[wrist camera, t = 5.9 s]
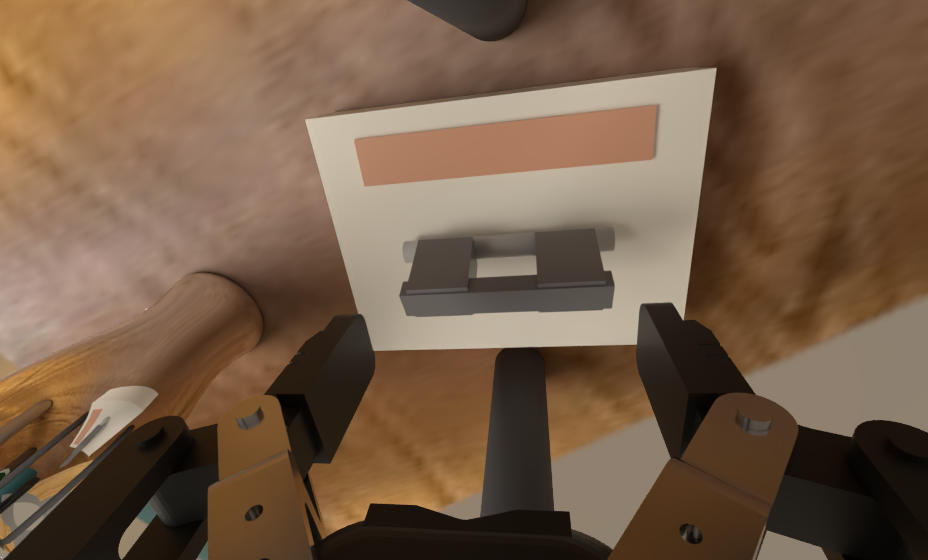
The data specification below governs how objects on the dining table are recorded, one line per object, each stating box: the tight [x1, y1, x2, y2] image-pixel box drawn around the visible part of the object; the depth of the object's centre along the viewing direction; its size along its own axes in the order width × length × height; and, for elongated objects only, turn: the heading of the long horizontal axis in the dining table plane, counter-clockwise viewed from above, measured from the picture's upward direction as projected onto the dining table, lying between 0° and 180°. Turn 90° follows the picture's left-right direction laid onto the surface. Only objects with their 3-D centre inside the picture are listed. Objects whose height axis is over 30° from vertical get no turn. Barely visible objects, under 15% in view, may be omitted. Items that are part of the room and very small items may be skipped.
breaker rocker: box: [399, 227, 615, 317], centre depth 17 cm, size 2×9×4 cm, turn 98°
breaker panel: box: [305, 67, 717, 351], centre depth 20 cm, size 12×16×3 cm
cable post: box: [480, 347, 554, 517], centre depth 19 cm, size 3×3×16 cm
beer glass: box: [0, 273, 263, 560], centre depth 20 cm, size 7×7×15 cm
